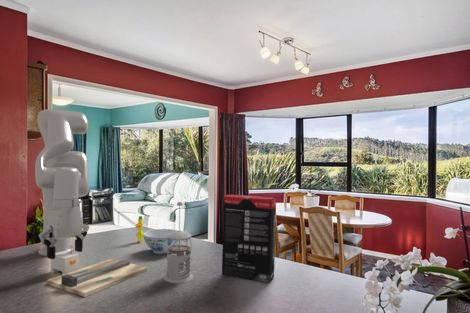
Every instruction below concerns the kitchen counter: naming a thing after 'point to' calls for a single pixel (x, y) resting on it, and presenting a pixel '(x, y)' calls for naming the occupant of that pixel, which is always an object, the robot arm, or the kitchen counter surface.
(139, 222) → the toy figure
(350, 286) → the kitchen counter surface
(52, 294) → the kitchen counter surface
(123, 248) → the kitchen counter surface
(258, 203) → the graphics card box
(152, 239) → the chinaware
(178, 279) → the french press
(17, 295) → the kitchen counter surface
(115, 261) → the din panel
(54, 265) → the block
